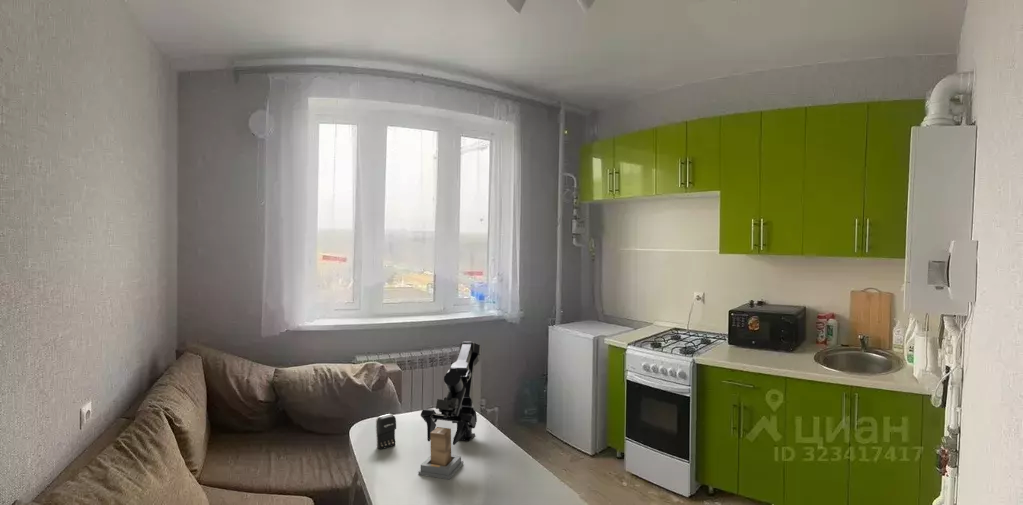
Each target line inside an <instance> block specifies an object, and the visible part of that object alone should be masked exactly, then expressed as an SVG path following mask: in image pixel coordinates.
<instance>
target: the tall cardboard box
mask: <svg viewBox="0 0 1023 505" xmlns="http://www.w3.org/2000/svg"><path fill="white" fill-rule="evenodd" d="M430 434H431V440H430V456H431V464H433V465H440V466H447V465H448V464H449V463H450V462H451V455H452V428H449V427H440V426H436V427H435V429H434V430H433V431H432V432H431V433H430Z"/></svg>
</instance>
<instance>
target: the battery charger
mask: <svg viewBox="0 0 1023 505" xmlns="http://www.w3.org/2000/svg"><path fill="white" fill-rule="evenodd" d="M396 429H397V419H396V416H395V415H394V414H392V413H388V414H387V413H386V414H383V415H380V416H378V417H377V418H376V419H375V435H376V436H375V437H376V448H378V449H380V450H381V449H387V448H391V447H393V446H395V445H396V434H395V433H396Z"/></svg>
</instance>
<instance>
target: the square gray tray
mask: <svg viewBox="0 0 1023 505" xmlns="http://www.w3.org/2000/svg"><path fill="white" fill-rule="evenodd" d="M463 465H464V460H463V461H462V455H457V454H451V462H450V463H449V464H448V465H447V466H440V465H433V464H431V455H430V456H428V457H427V459H425V460H424V461H423V462H422V463H421V464H420V469H419V470H417V471H418V472H417V473H418V474H417V475H419V476H424V477H425V476H426V477H431V478H439V479H445V480H451V478H452V477H453V476H455V474H456V473H457V472H458V470H459V469H461V467H462V466H463Z"/></svg>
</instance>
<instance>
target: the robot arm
mask: <svg viewBox="0 0 1023 505" xmlns="http://www.w3.org/2000/svg"><path fill="white" fill-rule="evenodd" d="M481 356H482V346H481V345H480V344H479V343H475V342H474V341H472V340H469V341H467V340H466V341H461V342H460V344H459V353H458V356H457V358H456V361H455V362H453V363H452V364H451V366H450V367H449V369H448V371H447V372H446V374H444V377H443V381H444V382H443V383H444V384H445V387H446V389H447V395H446V397H444V398H442V399H441V398H437V399H436V404H435V409H436V410H438V412H439V413H436V411H435V410H434V409H432V408H424V409H422V410H421V413H420V417H421V418H422V420H423V421H424V422H425V423H426V429H427V432H426V433H427V434H426V436H427V437H426V438H427V442H431V434H430V433H431V432H432V431H433V430H434V429H436V428H437V424H436V423H437V422H438V421H439V420H440V421H446V422H452V424H456V431H455V434H454V436H453V441H452V445H453V446H455V445H456V444H457V443H459V441H465V442H470V441H471V440H472V439H473V437H474V436H476V433H473V429H475V428H476V426H477V422H478V416H477V412H476V409H475V406H474V403H473V400H472V389H473V381H474V375H475V374H474V372H475V366H476V365H477V364H478V362H480V357H481Z"/></svg>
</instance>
